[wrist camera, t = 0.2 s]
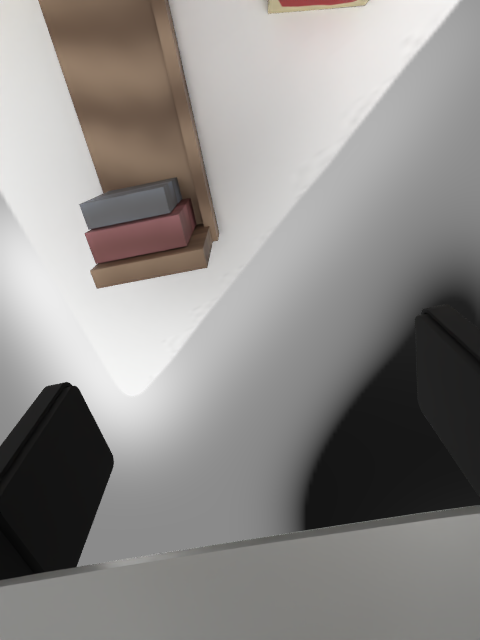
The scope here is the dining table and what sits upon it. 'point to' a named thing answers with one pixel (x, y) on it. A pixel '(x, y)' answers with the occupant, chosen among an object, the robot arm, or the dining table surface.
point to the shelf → (135, 138)
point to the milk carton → (310, 5)
